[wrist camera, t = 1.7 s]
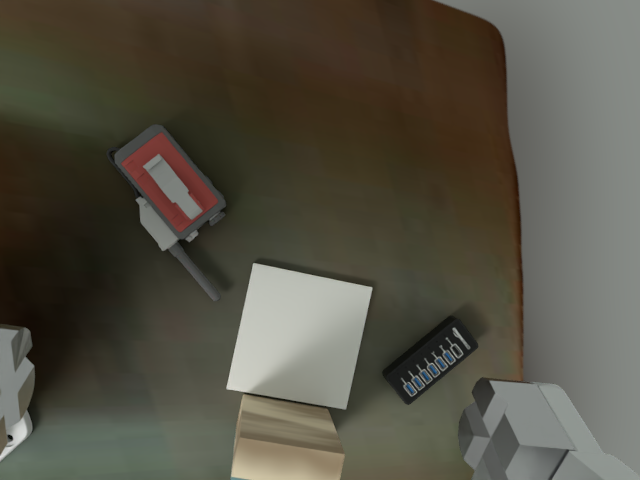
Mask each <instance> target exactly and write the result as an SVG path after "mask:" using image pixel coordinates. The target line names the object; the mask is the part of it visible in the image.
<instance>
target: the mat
mask: <svg viewBox="0 0 640 480" xmlns="http://www.w3.org/2000/svg"><path fill="white" fill-rule="evenodd" d="M371 292H372V287H368V286H364V285H359V284H354V283H349V282H344V281H339V280H334V279H330V278H325V277H320V276H315V275H310V274H305V273H301V272H296V271H291V270H286V269H281V268H276V267H271V266H267V265H262V264H257V263H253V267H252V272H251V277H250V281H249V286H248V291H247V295H246V300H245V305H244V309H243V314H242V319H241V323H240V328H239V332H238V337H237V342H236V346H235V351H234V356H233V360H232V365H231V370H230V374H229V379H228V384H227V388H226V389H230V390H236V391H242V392H247V393H253V394H259V395H265V396H270V397H276V398H282V399H288V400H293V401H299V402H305V403H311V404H316V405H322V406H328V407H334V408H339V409H345V410H346V407H347V403H348V398H349V394H350V389H351V384H352V380H353V375H354V371H355V366H356V361H357V357H358V352H359V348H360V343H361V338H362V334H363V329H364V325H365V320H366V315H367V311H368V306H369V302H370V297H371Z"/></svg>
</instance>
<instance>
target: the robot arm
mask: <svg viewBox="0 0 640 480" xmlns="http://www.w3.org/2000/svg"><path fill="white" fill-rule="evenodd" d="M31 347H32V341H31V334H30V330H28V329H27V328H25V327H19V326H12V325H4V324H0V462H1V461H2V460H3V459H4V458H5V457H6V456H7V455H8V454H10V453H11V452H12V451H13V450H14V449H15V448H16V447H17V446H19V445H20V444H21V443H22V442H23V441H24V440H25V439H26V438H28V437H29V435H30V434H31V432H32V422H31V419H30V416H29V413H28V411H27V408H28V406H29V403H30V400H31V397H32V393H33V390H34V382H35V370H34V365H33V364H32V363H31V362H30V361H29V360H28V359H27V358H26V357H25V356H26V355H27V353H28V352H29V350H30V349H31ZM472 394H473V397H474V399H475V402H474V403H472V404H471V405H469V406H468V407H466V408H465V409H464V411H463V413H462V416H461V418H460V421H459V430H458V439H459V446H460V450H461V453H462V456H463V459H464V460H465V461H466V462H467V463H468V464H469V465H470V466H471V467H472V468H473V469H474V470H475V471H474V474H473V476H472V479H471V480H640V476H639V475H638V474H637V473H635V472H634V471H633V470H631V469H630V468H629V467H627V466H626V465H625V464H623V463H622V462H621V461H620V460H618V459H617V458H616V457H614V456H613V455H609V454H604V453H603V452H602V450H601V448H600V447H599V445H598V443H597V442H596V440H595V439H594V437H593V436H592V434H591V432H590V431H589V430H588V428H587V426H586V425H585V423H584V421H583V420H582V418H581V417H580V415H579V414H578V412H577V410H576V409H575V407H574V406H573V404H572V403H571V401H570V399H569V398H568V396H567V395H566V393H565V392H564V390H563V389H562V388H561V387H559V386H558V385H557V384H549V383H537V382H523V381H513V380H503V379H494V378H484V377H482V378H480V379H479V380H478V381H477V382H476V384H475V386H474V388H473V390H472ZM8 435H12V436H13V440H10V439H9V438H8Z"/></svg>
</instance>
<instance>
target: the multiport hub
mask: <svg viewBox="0 0 640 480" xmlns="http://www.w3.org/2000/svg"><path fill="white" fill-rule="evenodd" d="M477 348H478V343H477V342H476V341H475V339H474V338H473V337H472V335H471V334H470V333H469V331H468V330H467V329H466V327H465V326H464V325H463V323H462V322H461V321H460V320H459V319H457V318H455V317H453V316H449V317H448V318H447V319H445V320H444V321H443V322H442V323H441V324H439V325H438V326H437V327H436V328H434V329H433V330H432V331H431V332H430V333H428V334H427V335H426V336H425V337H423V338H422V339H421V340H420V341H419V342H417V343H416V344H415V345H414V346H413V347H411V348H410V349H409V350H408V351H406V352H405V353H404V354H403V355H402V356H400V357H399V358H398V359H397V360H395V361H394V362H393V363H392V364H391V365H389V366H388V367H387V368H386V369H384V370H383V372H382V374H383V376H384V377H385V379H386V380H387V381H388V382H389V384H390V385H391V386H392V387H393V389H394V390H395V391H396V393H397V394H398V395H399V396H400V398H401V399H402V400H403V401H404V403H405V404H407V405H409V404H411V403H412V402H413V401H414V400H416V399H417V398H418V397H419V396H420V395H422V394H423V393H424V392H425V391H426V390H428V389H429V388H430V387H431V386H432V385H434V384H435V383H436V382H437V381H438V380H440V379H441V378H442V377H443V376H445V375H446V374H447V373H448V372H449V371H451V370H452V369H453V368H454V367H455V366H457V365H458V364H459V363H460V362H461V361H463V360H464V359H465V358H466V357H467V356H469V355H470V354H471V353H472V352H473V351H475V350H476V349H477Z"/></svg>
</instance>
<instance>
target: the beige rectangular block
mask: <svg viewBox="0 0 640 480" xmlns="http://www.w3.org/2000/svg"><path fill="white" fill-rule="evenodd" d="M344 457H345V453H344V450H343V448H342V445H341V442H340V440H339V437H338V434H337V432H336V429H335V427H334V424H333V421H332V419H331V416H330V413H329V411H328V409H327V408H321V407H316V406H310V405H304V404H298V403H293V402H287V401H281V400H275V399H270V398H264V397H258V396H252V395H246V394H243V397H242V402H241V407H240V411H239V416H238V420H237V425H236V432H235V441H234V451H233V460H232V470H231V479H230V480H340V476H341V471H342V466H343V462H344Z"/></svg>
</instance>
